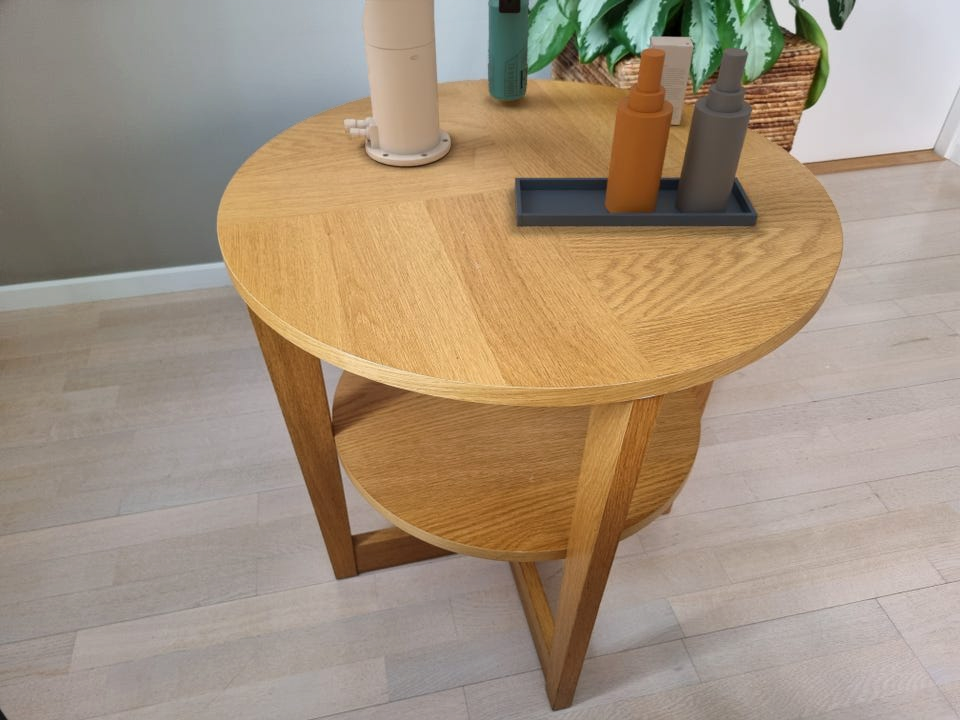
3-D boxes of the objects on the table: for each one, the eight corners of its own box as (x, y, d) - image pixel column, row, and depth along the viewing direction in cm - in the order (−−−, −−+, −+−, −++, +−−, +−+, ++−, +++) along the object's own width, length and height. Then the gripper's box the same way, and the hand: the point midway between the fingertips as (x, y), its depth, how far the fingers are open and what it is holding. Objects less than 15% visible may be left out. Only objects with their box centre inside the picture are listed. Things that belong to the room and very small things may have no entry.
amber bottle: (608, 219, 87) (628, 62, 74) (601, 193, 92) (620, 42, 79) (659, 219, 87) (689, 62, 74) (650, 193, 92) (677, 42, 79)
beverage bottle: (523, 111, 114) (528, -26, 100) (483, 108, 115) (483, -28, 101) (529, 96, 118) (535, -37, 105) (491, 93, 119) (491, -39, 106)
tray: (516, 231, 86) (517, 215, 85) (514, 193, 94) (515, 177, 92) (753, 231, 86) (758, 215, 85) (732, 192, 93) (737, 177, 92)
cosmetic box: (677, 114, 112) (691, 36, 104) (679, 126, 109) (695, 46, 101) (638, 113, 113) (650, 35, 105) (640, 124, 110) (652, 44, 102)
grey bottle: (680, 219, 87) (713, 62, 74) (670, 193, 92) (700, 42, 79) (732, 218, 87) (774, 61, 74) (719, 193, 92) (756, 41, 79)
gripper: (484, -146, 101) (484, -11, 113) (483, -128, 88) (484, 23, 100) (536, -147, 101) (531, -11, 113) (543, -129, 88) (536, 23, 100)
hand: (509, 4), depth 106 cm, fingers closed on beverage bottle, 6 cm apart
